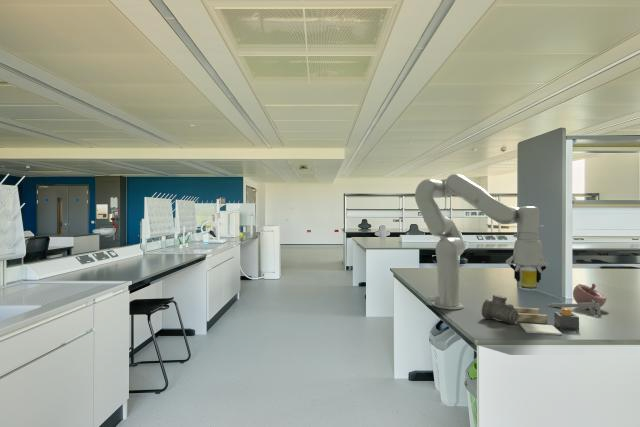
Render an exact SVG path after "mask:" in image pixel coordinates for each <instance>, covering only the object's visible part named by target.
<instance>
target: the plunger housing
mask: <svg viewBox="0 0 640 427" xmlns="http://www.w3.org/2000/svg"><path fill="white" fill-rule="evenodd" d="M553 314H554V316H553V317H554V325H553V326H554V327H555V328H556V329H558V330H559V331H574V332H580V317H579V316H578V315H576V314H575V313H574V312H571V316H564V315H561V312H560V311H554V313H553Z"/></svg>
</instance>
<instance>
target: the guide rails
mask: <svg viewBox="0 0 640 427" xmlns="http://www.w3.org/2000/svg"><path fill="white" fill-rule="evenodd" d="M514 309H516V310H517V312H518V320H517V322H520V323H533V324H548V315H547V314H541V313H540V312H541V311H540V308H533V307H532V308H531V307H518V306H517V307H515V306H514Z"/></svg>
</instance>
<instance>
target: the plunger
mask: <svg viewBox="0 0 640 427" xmlns="http://www.w3.org/2000/svg"><path fill="white" fill-rule="evenodd" d="M560 310H561V315H564V316H571V313H572V309H571V308H568V307H561V309H560Z"/></svg>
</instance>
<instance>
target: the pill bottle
mask: <svg viewBox="0 0 640 427" xmlns="http://www.w3.org/2000/svg"><path fill="white" fill-rule="evenodd" d="M519 272H520V273H519V281H517V283H518V284H517V286H518V289H521V290H523V291H524V290H525V291H535V290H537V283H538V282H537V269H536V268H535V266H525V265H521V266H520V268H519Z"/></svg>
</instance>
